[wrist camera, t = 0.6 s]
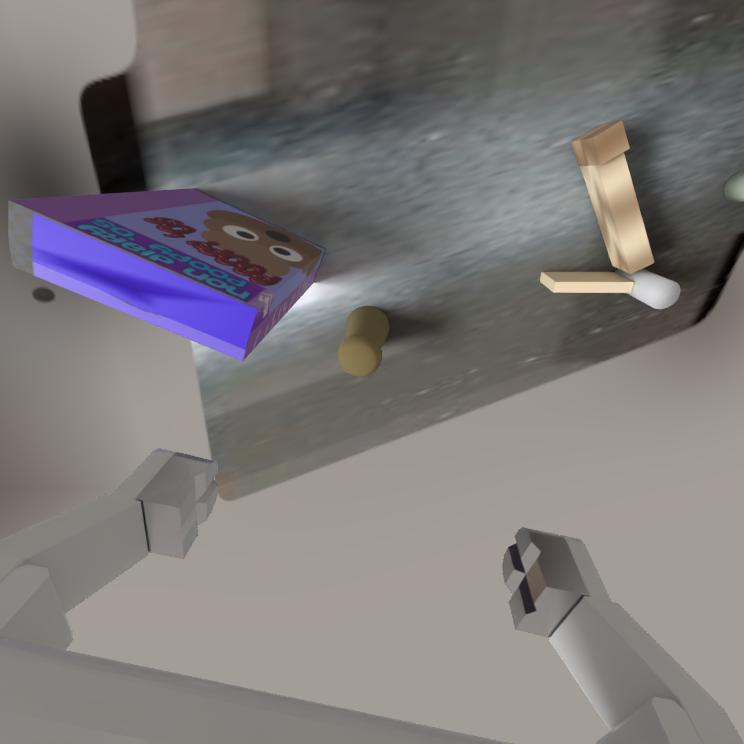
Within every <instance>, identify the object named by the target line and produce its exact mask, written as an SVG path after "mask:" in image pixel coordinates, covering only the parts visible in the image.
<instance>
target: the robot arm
mask: <svg viewBox="0 0 744 744" xmlns="http://www.w3.org/2000/svg"><path fill="white" fill-rule="evenodd" d="M217 472H218V467H217V462H215V461H212V460H207V459H204V458H199V457H195V456H191V455H187V454H183V453H178V452H173V451H169V450H165V449H161V448H158V449H156V450H154V451H153V452H151V453H150V455H149V456H148V457H147V458H146V459H145V460H144V461H143V462H142V463H141V464H140V465H139V466H138V467H137V468H136V470H135V471H134V472H133V473H132V474H131V475H130V476H129V477H128V478H127V479H126V480H125V481H124V482H123V484H121V486H120V487H119V488H118V489H117V490H116V491H115V492H114V493H113V494H112V495H110V494H104V495H102V496H99V497H97V498H95V499H93V500H90V501H88V502H86V503H84V504H81V505H79V506H77V507H75V508H73V509H70V510H68V511H65V512H63V513H61V514H58V515H56V516H54V517H52V518H49V519H47V520H45V521H43V522H40V523H38V524H36V525H34V526H31V527H29V528H27V529H24V530H22V531H20V532H18V533H15V534H13V535H11V536H9V537H6V538H4V539H2V540H0V744H512V743H507V742H502V741H497V740H492V739H488V738H483V737H478V736H473V735H469V734H464V733H459V732H454V731H449V730H444V729H440V728H435V727H430V726H426V725H421V724H416V723H411V722H406V721H402V720H397V719H392V718H387V717H383V716H378V715H373V714H368V713H364V712H359V711H354V710H349V709H344V708H340V707H335V706H330V705H325V704H321V703H316V702H311V701H306V700H302V699H297V698H292V697H287V696H283V695H277V694H273V693H268V692H263V691H259V690H254V689H248V688H244V687H239V686H235V685H230V684H225V683H220V682H215V681H211V680H206V679H201V678H196V677H192V676H187V675H182V674H177V673H172V672H168V671H163V670H158V669H153V668H149V667H144V666H139V665H134V664H129V663H125V662H120V661H115V660H110V659H105V658H101V657H96V656H91V655H86V654H82V653H77V652H72V651H67V650H66V649H67V647H68V646H69V644H70V643H71V642H72V640H73V633H72V630H71V627H70V625H69V622H68V620H67V617H66V614H65V613H67V612H68V611H69V610H71V609H72V608H74V607H75V606H76V605H78V604H79V603H81V602H82V601H84V600H85V599H86V598H88V597H89V596H91V595H92V594H93V593H95V592H96V591H98V590H99V589H101V588H102V587H104V586H105V585H106V584H108V583H109V582H111V581H112V580H113V579H115V578H116V577H118V576H119V575H121V574H122V573H123V572H125V571H126V570H128V569H129V568H131V567H132V566H133V565H135V564H136V563H137V562H139V561H140V560H142V559H143V558H145V557H146V556H147V555H149V553H154V554H160V555H165V556H171V557H176V558H182V559H184V557H185V556H186V554H187V553H188V551H189V549H190V547H191V546H192V543H193V542H194V541H195V539H196V537H197V536H198V529H197V528H198V527H197V526H198V525H199V524H201V523H203V522H205V521H206V520H207V519H208V517H209V515H210V513H211V512H212V510H213V507H214V504H215V502H216V498H217V493H218V484H217V483H216V481H215V480H214V477H215V476H216V474H217ZM515 539H516V542H517V543H516V544H513V545H511V546H509V547H508V549H507V551H506V552H505V554H504V559H503V565H502V566H503V567H502V568H503V577H504V582H505V585H506V586H507V587H508V589H509V590H510V591H511V593H512V594H513V595H512V597H511V599H510V601H509V604H510V609H511V613H512V617H513V621H514V625H515V629H516V630H520V631H524V632H528V633H532V634H536V635H540V636H544V637H548V638H549V641H550V642H551V644H552V645H553V647H554V648H555V650H556V651H557V653H558V654H559V656H560V657H561V658H562V660H563V662H564V663H565V665H566V666H567V668H568V669H569V670H570V672H571V674H572V675H573V677H574V678H575V680H576V681H577V682H578V684H579V686H580V687H581V689H582V690H583V692H584V693H585V695H586V696H587V697H588V699H589V700H590V702H591V703H592V705H593V706H594V708H595V709H596V711H597V712H598V714H599V715H600V717H601V718H602V720H603V721H604V723H605V724H606V726H607V727H608V729H609V730H610V732H608V733H607V734H606V735H605V736H603V737H602V738H601V739H600V740H598V741H597V742H596V743H595V744H744V743H743V741H742V739H741V737H740V736H739V734H738V732H737V730H736V729H735V727H734V725H733V723H732V722H731V720H730V718H729V717H728V715H727V713H726V712H725V710H724V709H723V708H722V707H721V706H720V705H719V704H718V703H717V702H716V701H715V700H714V699H713V698H712V697H711V696H710V695H709V694H708V693H707V692H706V691H705V690H704V689H703V688H702V687H701V686H700V685H699V684H698V683H697V682H696V681H695V680H694V679H693V678H692V677H691V676H690V675H689V674H688V673H687V672H686V671H685V670H684V669H683V668H682V667H681V666H680V665H679V664H678V663H677V662H676V661H675V660H674V659H673V658H672V657H671V656H670V655H669V654H668V653H667V652H666V651H665V650H664V649H663V648H662V647H661V646H660V645H659V644H658V643H657V642H656V641H655V640H654V639H653V638H652V637H651V636H650V635H649V634H648V633H647V632H646V631H645V630H644V629H643V628H642V627H641V626H640V625H639V624H638V623H637V622H636V621H635V620H634V619H633V618H632V617H631V616H630V615H629V614H628V613H627V612H626V611H625V610H624V609H623V608H622V607H621V606H620V605H619V604H618V603H613V602H612V601H611V599H610V597H609V595H608V593H607V590H606V588H605V586H604V584H603V582H602V580H601V578H600V576H599V573H598V572H597V569H596V567H595V565H594V563H593V561H592V559H591V557H590V555H589V552H588V550H587V548H586V546H585V544H584V543H583V542H582V541H581V540H580V539H577V538H572V537H567V536H562V535H558V534H553V533H548V532H543V531H538V530H533V529H528V528H521V529H519V530H518V532H517V533H516V535H515ZM148 552H149V553H148Z"/></svg>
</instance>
